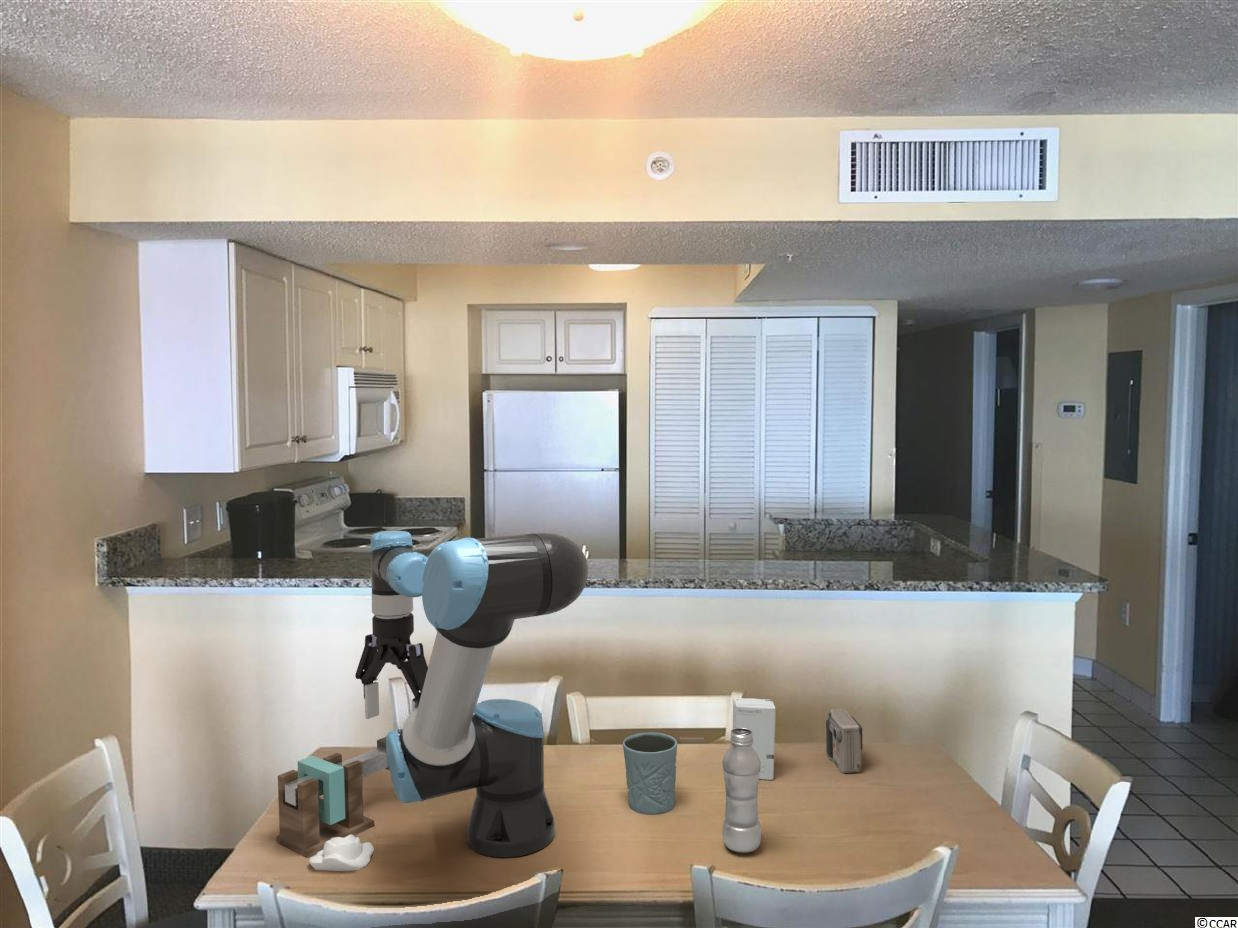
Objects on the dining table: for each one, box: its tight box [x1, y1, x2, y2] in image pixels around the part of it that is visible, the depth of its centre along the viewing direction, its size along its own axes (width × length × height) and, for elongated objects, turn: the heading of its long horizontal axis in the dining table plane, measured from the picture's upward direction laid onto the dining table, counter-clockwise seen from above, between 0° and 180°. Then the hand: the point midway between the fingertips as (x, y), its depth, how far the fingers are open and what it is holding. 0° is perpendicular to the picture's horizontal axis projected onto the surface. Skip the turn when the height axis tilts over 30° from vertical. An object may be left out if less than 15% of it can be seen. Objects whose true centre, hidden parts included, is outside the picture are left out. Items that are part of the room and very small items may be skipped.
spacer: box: [297, 755, 345, 825], centre depth 151 cm, size 3×9×9 cm, turn 54°
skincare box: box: [732, 697, 776, 781], centre depth 175 cm, size 8×6×15 cm
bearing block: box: [275, 752, 375, 859], centre depth 152 cm, size 14×9×12 cm, turn 144°
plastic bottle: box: [721, 728, 762, 854], centre depth 145 cm, size 6×7×20 cm
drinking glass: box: [622, 731, 678, 816], centre depth 162 cm, size 10×10×12 cm
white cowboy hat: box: [309, 834, 375, 872], centre depth 143 cm, size 10×4×10 cm
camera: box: [825, 708, 863, 774], centre depth 180 cm, size 11×6×10 cm, turn 0°
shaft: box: [285, 736, 389, 806], centre depth 156 cm, size 25×5×5 cm, turn 144°
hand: (395, 724), depth 164 cm, fingers open, 13 cm apart
